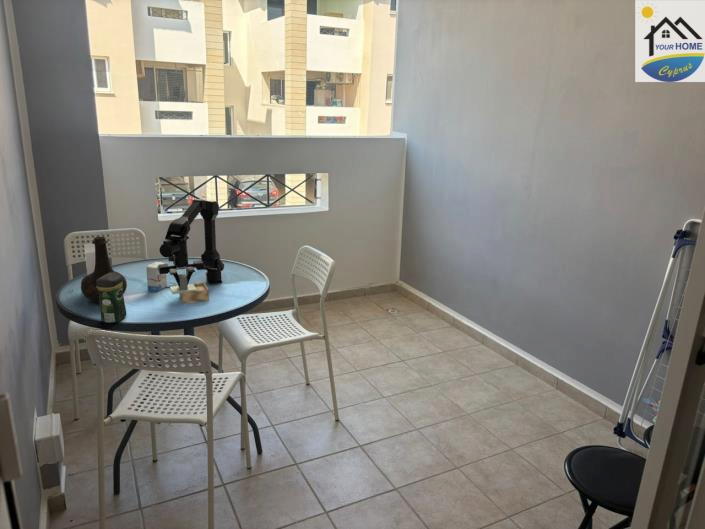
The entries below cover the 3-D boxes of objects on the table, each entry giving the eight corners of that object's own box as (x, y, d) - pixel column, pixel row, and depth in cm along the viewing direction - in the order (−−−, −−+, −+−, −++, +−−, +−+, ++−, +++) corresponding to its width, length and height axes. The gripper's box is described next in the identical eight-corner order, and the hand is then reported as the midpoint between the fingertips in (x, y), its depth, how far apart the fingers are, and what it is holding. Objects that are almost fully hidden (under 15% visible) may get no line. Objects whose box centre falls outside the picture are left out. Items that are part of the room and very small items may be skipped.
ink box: (157, 292, 234) (155, 267, 231) (147, 291, 235) (145, 266, 231) (167, 286, 242) (165, 262, 239) (158, 285, 243) (155, 261, 239)
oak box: (204, 293, 235) (203, 282, 233) (209, 300, 226) (208, 289, 225) (179, 296, 230) (178, 285, 228) (183, 304, 221) (182, 292, 220)
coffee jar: (111, 313, 209) (105, 270, 204) (129, 315, 209) (125, 271, 203) (97, 323, 200) (91, 278, 195) (117, 324, 199) (111, 279, 194)
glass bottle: (79, 297, 225) (70, 235, 217) (122, 289, 236) (115, 230, 228) (87, 310, 212) (78, 245, 204) (133, 301, 222) (126, 239, 214)
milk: (104, 291, 233) (99, 244, 226) (89, 293, 231) (83, 245, 224) (104, 287, 238) (99, 241, 232) (90, 288, 236) (84, 242, 229)
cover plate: (193, 285, 230) (192, 271, 228) (196, 291, 223) (195, 277, 222) (169, 288, 226) (168, 274, 224) (172, 294, 219) (171, 280, 217)
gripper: (199, 244, 230) (201, 277, 235) (154, 248, 222) (157, 283, 227) (204, 251, 221) (206, 285, 226) (158, 255, 213) (161, 291, 217)
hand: (183, 285), depth 224 cm, fingers closed on cover plate, 3 cm apart
